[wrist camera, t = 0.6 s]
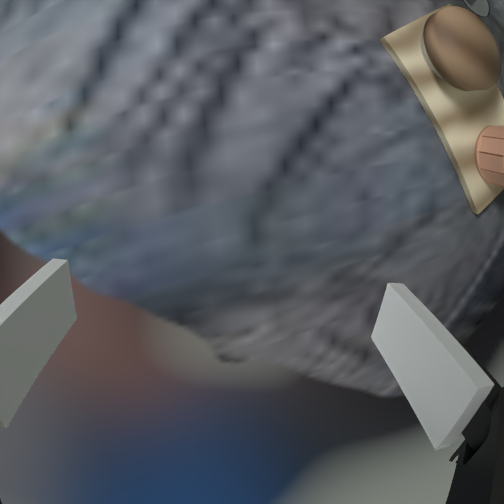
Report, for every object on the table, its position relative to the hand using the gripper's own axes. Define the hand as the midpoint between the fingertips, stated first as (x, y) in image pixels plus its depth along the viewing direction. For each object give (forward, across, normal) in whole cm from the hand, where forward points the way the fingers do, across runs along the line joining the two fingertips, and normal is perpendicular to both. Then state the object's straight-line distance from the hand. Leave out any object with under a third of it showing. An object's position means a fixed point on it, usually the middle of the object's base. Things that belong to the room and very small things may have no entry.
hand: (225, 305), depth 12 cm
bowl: (+25, +37, +11) cm, 46 cm away
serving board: (+26, +31, +17) cm, 44 cm away
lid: (+22, +26, +23) cm, 41 cm away
